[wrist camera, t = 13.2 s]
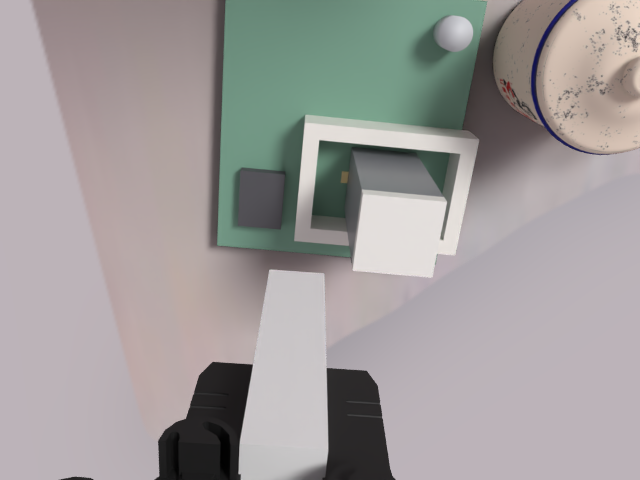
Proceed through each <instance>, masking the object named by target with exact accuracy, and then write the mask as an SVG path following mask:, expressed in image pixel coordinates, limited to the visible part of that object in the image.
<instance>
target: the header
mask: <svg viewBox="0 0 640 480" xmlns="http://www.w3.org/2000/svg"><path fill="white" fill-rule="evenodd" d="M319 140H324V141H334V142H344V143H354V144H365V145H375V146H385V147H395V148H406V149H416V150H426V151H436V152H447V153H450V156H449V161H448V166H447V172H446V177H445V182H444V187H443V192H442V195H443V196H444V198H445V199H446V201H447V205H446V210H445V215H444V220H443V226H442V231H441V236H440V241H439V246H438V251H437V254H445V255H455V254H456V249H457V244H458V239H459V235H460V230H461V225H462V220H463V216H464V211H465V206H466V201H467V197H468V192H469V187H470V182H471V178H472V173H473V168H474V163H475V158H476V154H477V149H478V144H479V139H478V138H477V137H476V136H475V135H473V134H472V133H471V132H470V131H466V130H456V129H446V128H435V127H425V126H415V125H405V124H395V123H385V122H375V121H365V120H355V119H345V118H335V117H325V116H315V115H305V125H304V136H303V147H302V158H301V169H300V181H299V192H298V203H297V214H296V225H295V236H294V241H300V242H311V243H322V244H333V245H345V246H349V241H348V233H347V226H346V218H339V217H328V216H317V215H312V207H313V197H314V187H315V177H316V167H317V157H318V147H319ZM348 173H349V172H346V171H342V176H341V183H347V181H348Z"/></svg>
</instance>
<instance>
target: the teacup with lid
mask: <svg viewBox="0 0 640 480" xmlns="http://www.w3.org/2000/svg"><path fill="white" fill-rule="evenodd" d="M493 70H494V76H495V80H496V84H497V86H498V89H499V91H500V93H501V94H502V96H503V97H504V99H505V100H506V102H507V103H508V104H509V105H510V106H511V107H512V108H513V109H515V110H516V111H517V112H519V113H520V114H522V115H524V116H526V117H527V118H529V119H531V120H532V121H534V122H536V123H538V124H539V125H541V126H543V127H544V128H546V129H547V130H548V131H549V132H550V134H551V135H552V136H554V137H555V138H556V139H557V140H558V141H560V142H561V143H563V144H564V145H566V146H568V147H570V148H572V149H574V150H577V151H580V152H584V153H589V154H597V155H609V154H617V153H623V152H628V151H631V150H635V149H638V148H640V0H523V1H522V2H521V3H520V4H519V5H518V6H517V7H516V8H515V9H514V10H513V11H512V13H511V14H510V15H509V17H508V18H507V19H506V21H505V23H504V24H503V26H502V28H501V30H500V32H499V35H498V38H497V41H496V44H495V49H494V55H493Z"/></svg>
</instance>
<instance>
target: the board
mask: <svg viewBox="0 0 640 480" xmlns="http://www.w3.org/2000/svg"><path fill="white" fill-rule="evenodd" d="M486 5H487V1H480V0H225V30H224V59H223V88H222V118H221V147H220V177H219V206H218V235H217V245H218V246H229V247H240V248H252V249H263V250H274V251H286V252H297V253H308V254H320V255H331V256H342V257H351V256H350V248H349V246H345V245H333V244H322V243H311V242H300V241H294V236H295V225H296V214H297V203H298V192H299V181H300V169H301V158H302V147H303V136H304V125H305V115H315V116H325V117H335V118H345V119H355V120H365V121H375V122H385V123H395V124H405V125H415V126H425V127H435V128H446V129H456V130H462V127H463V122H464V117H465V112H466V107H467V102H468V97H469V92H470V87H471V82H472V76H473V71H474V66H475V61H476V56H477V51H478V46H479V41H480V36H481V31H482V26H483V21H484V15H485V10H486ZM352 147H357V148H368V149H378V150H388V151H398V152H409V153H416V154H417V155H418V157H419V158H420V160H421V162H422V163H423V165H424V166H425V168H426V169H427V171H428V173H429V174H430V176H431V177H432V179H433V180H434V182H435V184H436V185H437V187H438V188H439V190H440V192H441V193H442V192H443V187H444V182H445V177H446V172H447V166H448V161H449V156H450V153H447V152H436V151H426V150H416V149H406V148H395V147H385V146H375V145H365V144H354V143H344V142H334V141H324V140H319V147H318V157H317V167H316V177H315V187H314V197H313V207H312V215H317V216H328V217H339V218H345V211H344V206H345V197H346V189H347V183H341V176H342V171H346V172H349V165H350V157H351V149H352ZM436 259H437V256H436ZM435 265H436V261H435Z"/></svg>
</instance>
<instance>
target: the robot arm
mask: <svg viewBox="0 0 640 480" xmlns="http://www.w3.org/2000/svg"><path fill="white" fill-rule="evenodd" d="M158 445H159V471H160V472H159V474H160V476H159V477H158V478H156V479H155V480H395V479H394V478H393V476H392V473H391V470H390V466H389V458H388V452H387V445H386V438H385V432H384V426H383V419H382V411H381V405H380V398H379V392H378V386H377V384H376V383H375V381H374V380H373V379H372V377H371V376H370V375H369V373H368V372H367V371H362V370H346V369H332V368H327V366H326V321H325V276H324V273H312V272H298V271H284V270H271V269H270V270H269V275H268V281H267V287H266V293H265V299H264V304H263V310H262V316H261V322H260V328H259V334H258V339H257V345H256V351H255V357H254V363H253V365H250V364H235V363H220V362H212V363H211V364H210V365H209V366H208V367H207V368H206V369H205V370H204V371H203V372H202V373H201V374H200V375H199V378H198V381H197V385H196V388H195V391H194V395H193V398H192V401H191V404H190V408H189V411H188V414H187V417H186V419H184V420H181V421H178V422H176V423H174V424H173V425H172V426H170V427H169V428H168V429H166V430H165V431H164V433H163V434H162V436H161V437H160V439H159V440H158ZM61 480H93V479H91V478H84V477H71V478H66V479H61Z"/></svg>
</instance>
